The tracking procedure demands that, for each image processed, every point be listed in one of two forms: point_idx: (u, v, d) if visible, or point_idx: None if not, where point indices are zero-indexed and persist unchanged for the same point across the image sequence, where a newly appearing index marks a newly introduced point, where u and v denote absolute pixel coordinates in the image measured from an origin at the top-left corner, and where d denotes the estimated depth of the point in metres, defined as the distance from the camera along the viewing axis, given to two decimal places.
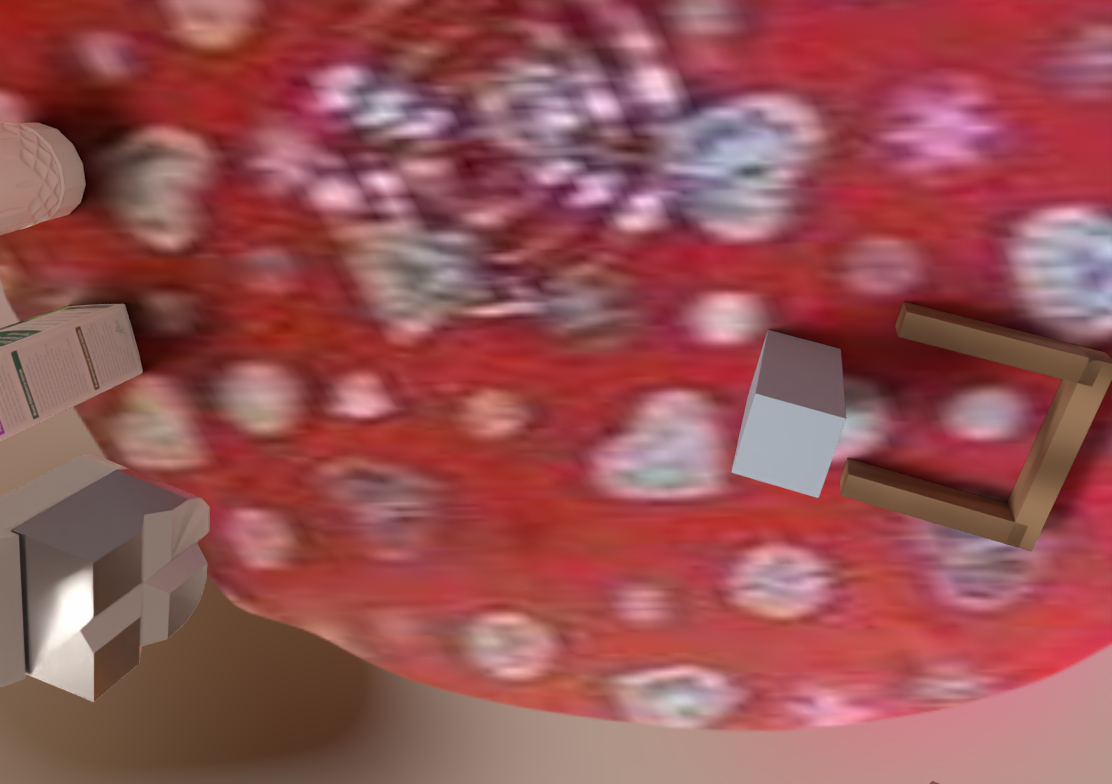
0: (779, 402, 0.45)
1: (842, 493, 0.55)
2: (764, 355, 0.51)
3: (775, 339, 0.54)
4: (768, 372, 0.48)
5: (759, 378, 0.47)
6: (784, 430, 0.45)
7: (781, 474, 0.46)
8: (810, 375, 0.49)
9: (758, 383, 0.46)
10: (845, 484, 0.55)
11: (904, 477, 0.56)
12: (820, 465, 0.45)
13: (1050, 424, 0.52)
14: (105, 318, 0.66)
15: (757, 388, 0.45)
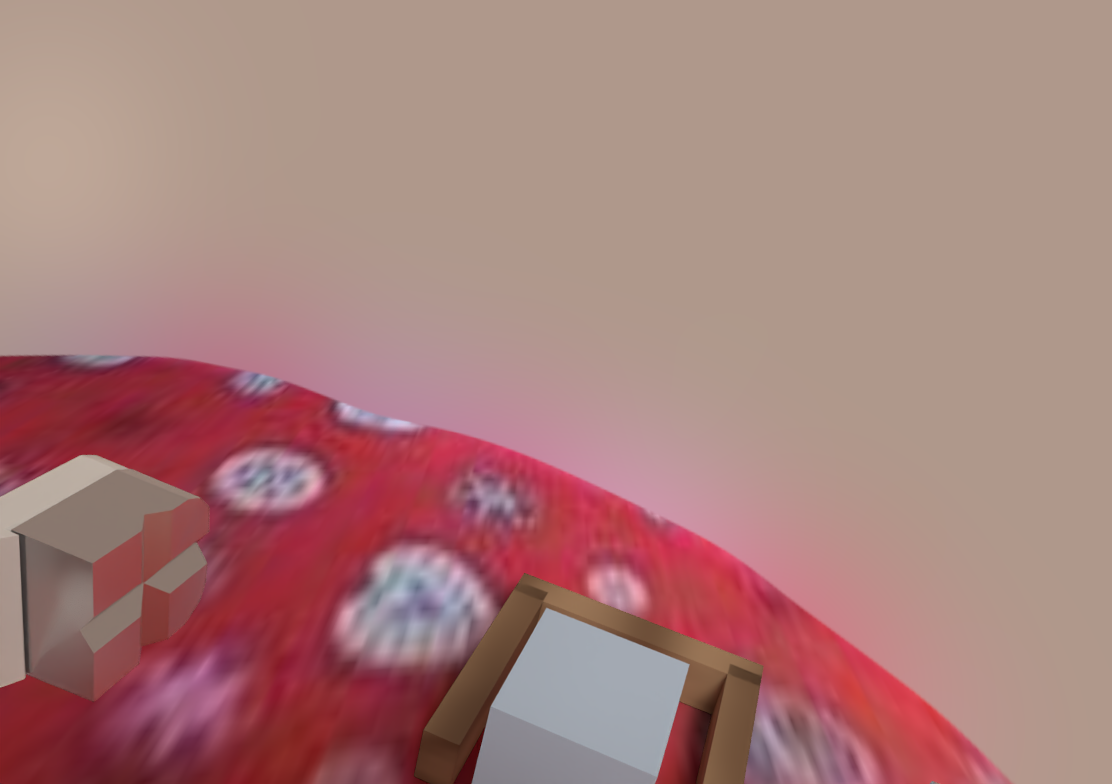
0: (512, 677, 0.24)
1: None
2: None
3: None
4: None
5: (475, 771, 0.24)
6: (565, 681, 0.24)
7: (652, 702, 0.24)
8: None
9: (480, 749, 0.24)
10: None
11: None
12: (630, 650, 0.26)
13: None
14: None
15: None
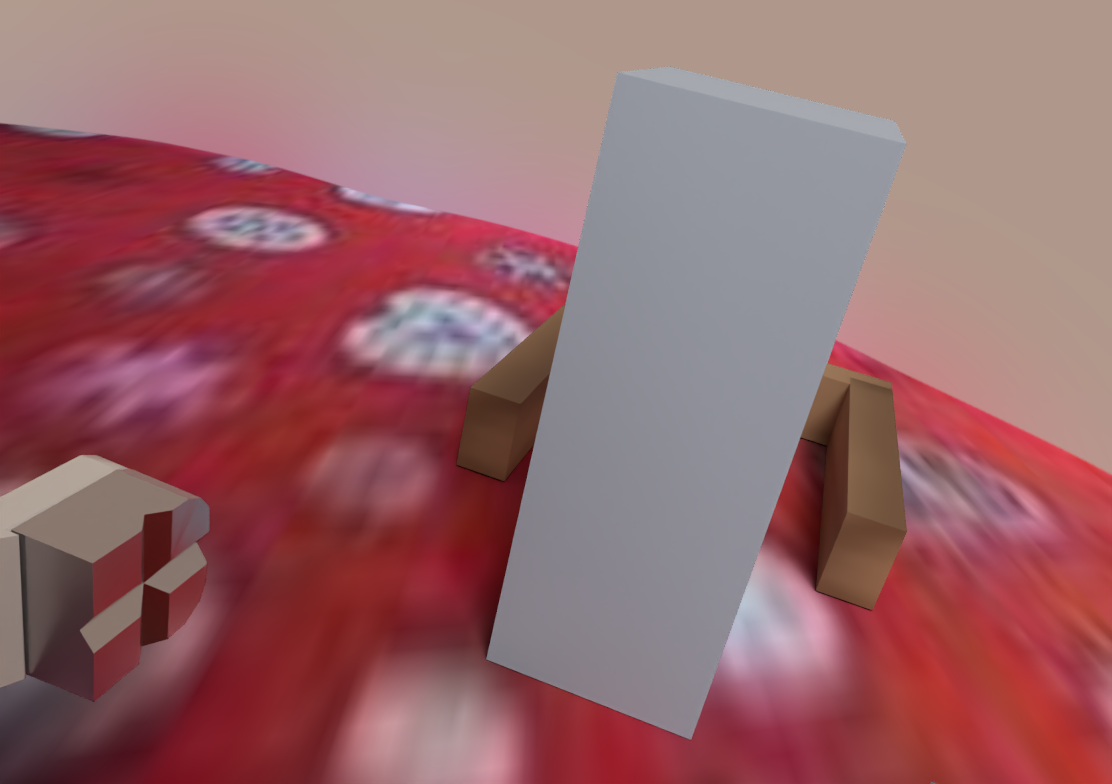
0: (641, 72, 0.15)
1: (900, 529, 0.23)
2: (537, 434, 0.17)
3: None
4: None
5: (584, 221, 0.15)
6: (723, 89, 0.16)
7: (860, 120, 0.16)
8: None
9: (595, 173, 0.15)
10: (875, 522, 0.23)
11: (825, 515, 0.27)
12: (804, 100, 0.17)
13: None
14: None
15: (606, 124, 0.15)
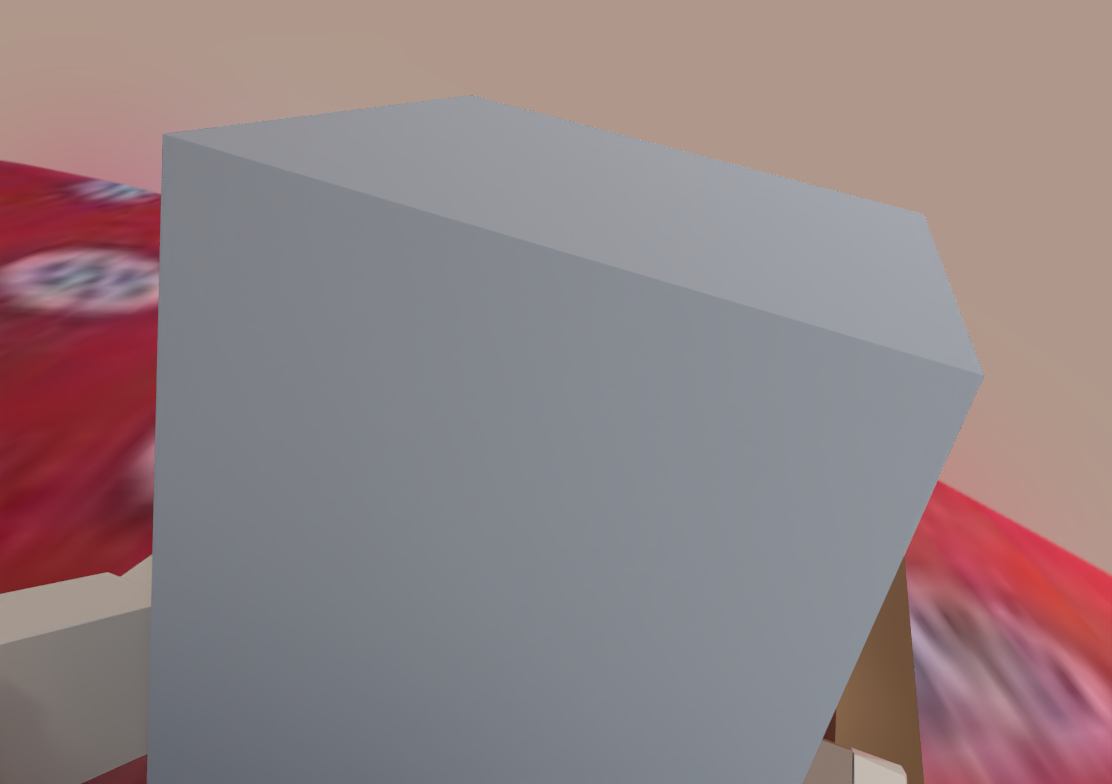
0: (303, 123, 0.06)
1: None
2: None
3: None
4: None
5: (160, 494, 0.06)
6: (516, 162, 0.06)
7: (846, 237, 0.06)
8: None
9: (163, 386, 0.06)
10: None
11: None
12: (732, 170, 0.08)
13: None
14: None
15: (166, 269, 0.05)
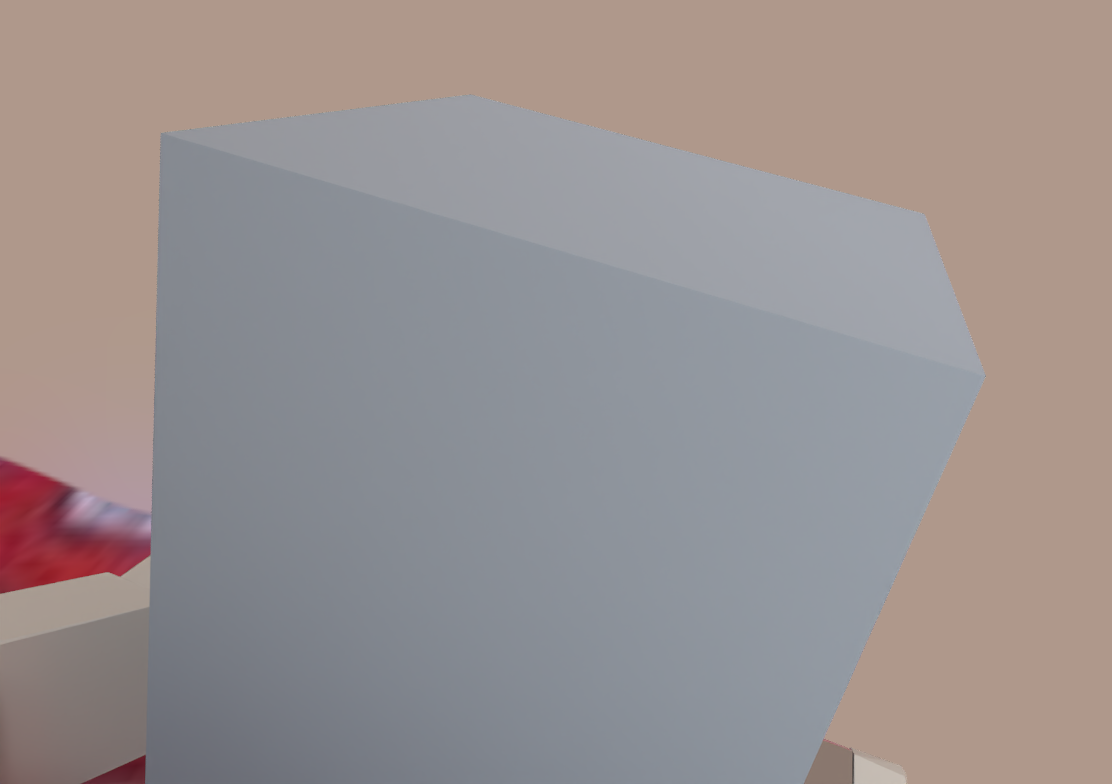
0: (301, 122, 0.06)
1: None
2: None
3: None
4: None
5: (158, 494, 0.06)
6: (516, 160, 0.06)
7: (846, 237, 0.06)
8: None
9: (161, 386, 0.06)
10: None
11: None
12: (732, 170, 0.08)
13: None
14: None
15: (163, 268, 0.05)
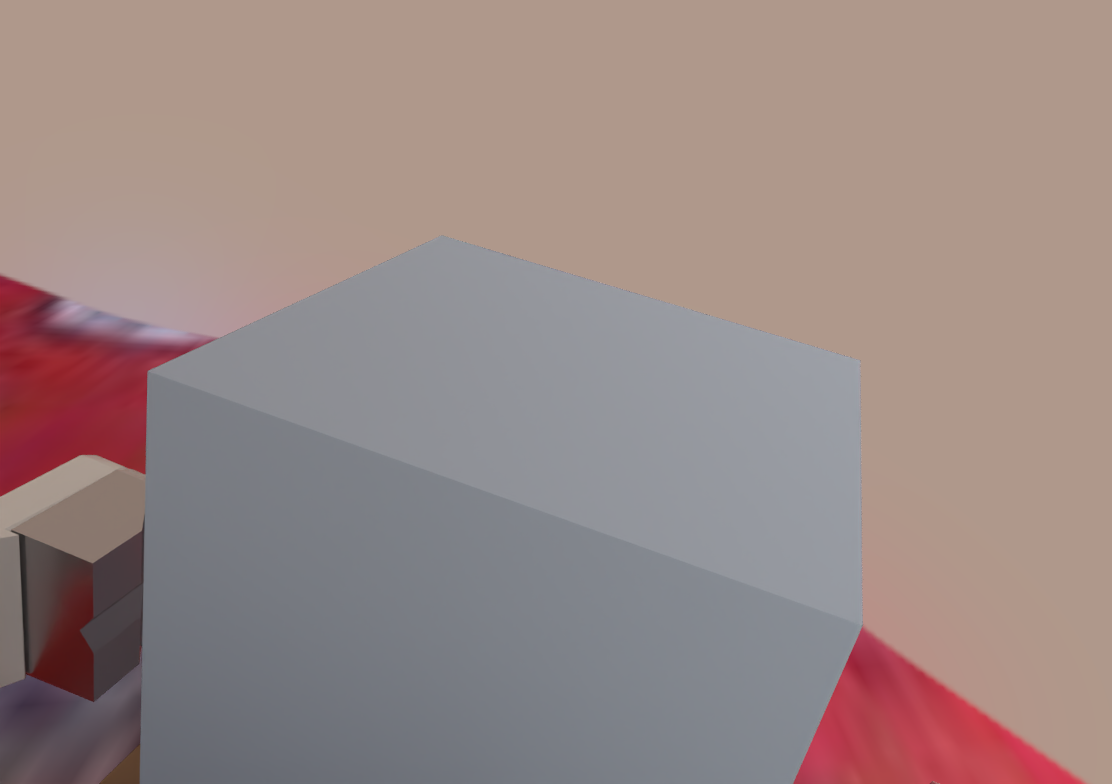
0: (276, 322, 0.07)
1: None
2: None
3: None
4: None
5: (147, 661, 0.07)
6: (474, 349, 0.07)
7: (774, 418, 0.07)
8: None
9: (149, 572, 0.06)
10: None
11: None
12: (682, 321, 0.09)
13: None
14: None
15: (151, 477, 0.06)
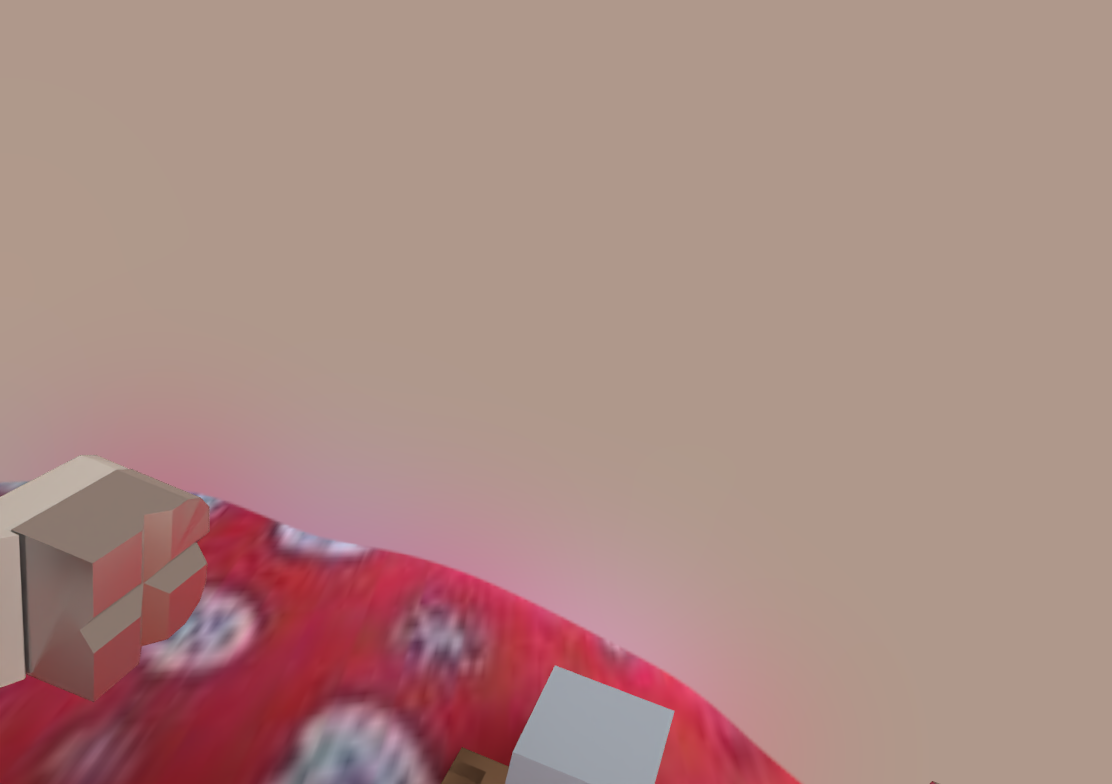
0: (528, 727, 0.30)
1: None
2: None
3: None
4: None
5: None
6: (572, 729, 0.30)
7: (643, 744, 0.30)
8: None
9: None
10: None
11: None
12: (625, 700, 0.32)
13: None
14: None
15: (508, 769, 0.29)
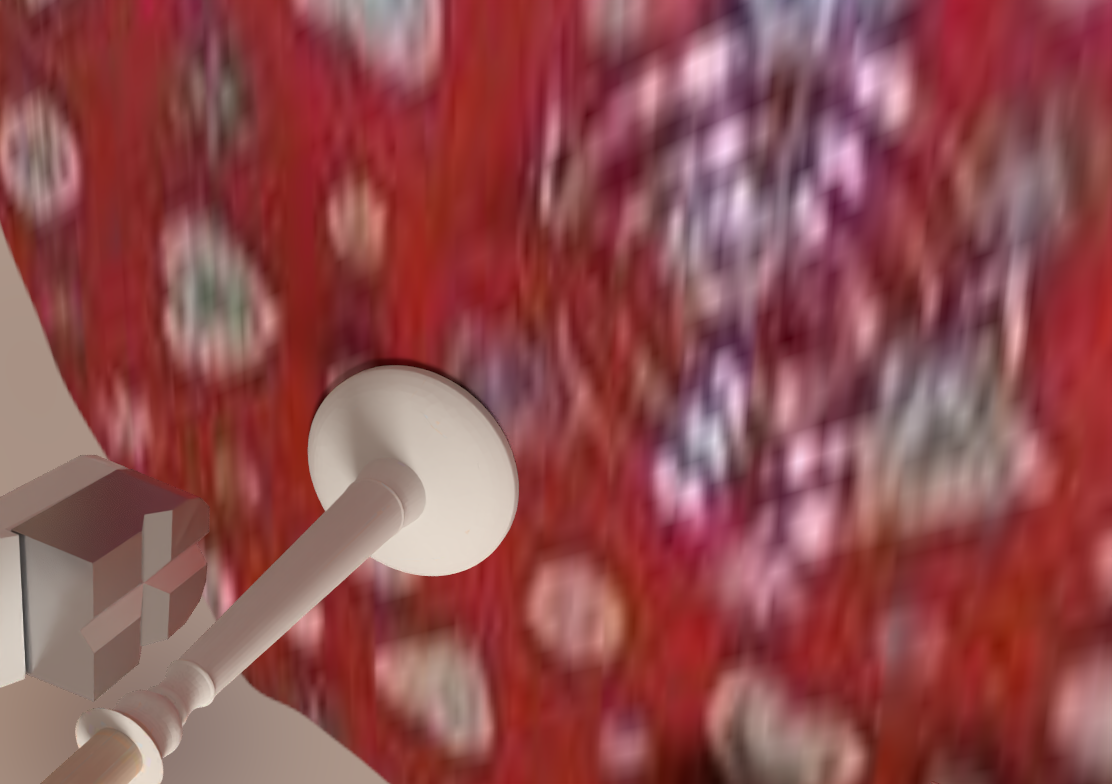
0: None
1: None
2: None
3: None
4: None
5: None
6: None
7: None
8: None
9: None
10: None
11: None
12: None
13: None
14: None
15: None
